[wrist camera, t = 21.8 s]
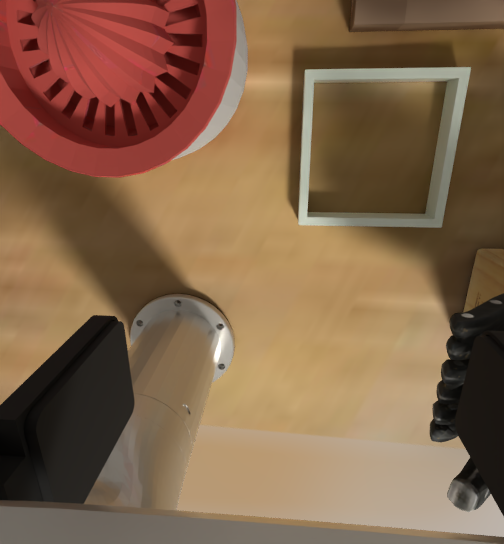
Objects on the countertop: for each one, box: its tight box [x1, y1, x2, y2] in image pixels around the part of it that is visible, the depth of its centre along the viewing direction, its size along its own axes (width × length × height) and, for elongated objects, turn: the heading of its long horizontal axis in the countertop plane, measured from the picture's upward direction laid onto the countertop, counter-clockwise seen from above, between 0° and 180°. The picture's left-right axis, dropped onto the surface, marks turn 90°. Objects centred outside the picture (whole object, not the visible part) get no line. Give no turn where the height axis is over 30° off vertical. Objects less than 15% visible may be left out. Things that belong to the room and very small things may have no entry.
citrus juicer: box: [0, 0, 248, 177], centre depth 26 cm, size 16×17×20 cm
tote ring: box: [298, 67, 471, 228], centre depth 35 cm, size 14×14×2 cm
